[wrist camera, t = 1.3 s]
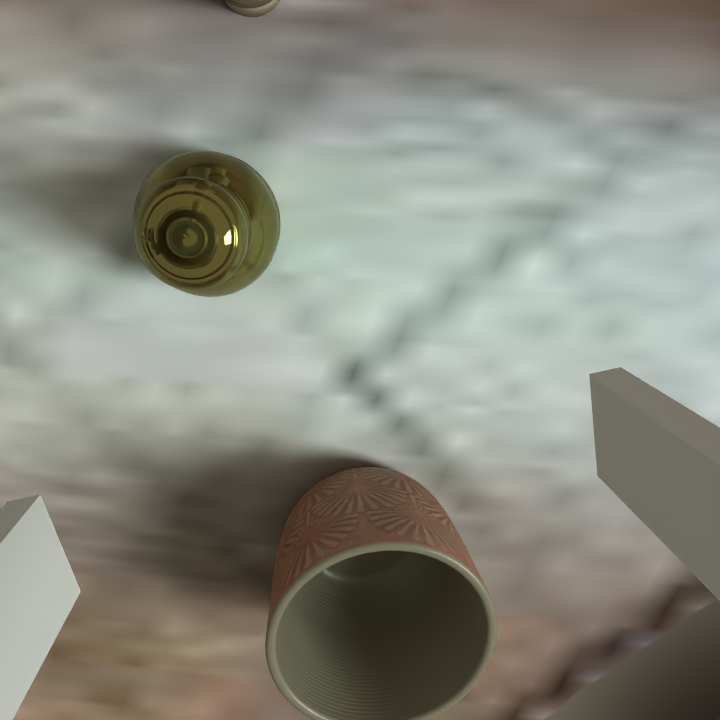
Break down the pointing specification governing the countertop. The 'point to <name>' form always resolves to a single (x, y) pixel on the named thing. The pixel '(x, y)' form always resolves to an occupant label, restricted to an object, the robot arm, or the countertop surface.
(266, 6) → the beech peg
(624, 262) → the countertop surface
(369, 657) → the planter
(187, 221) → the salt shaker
